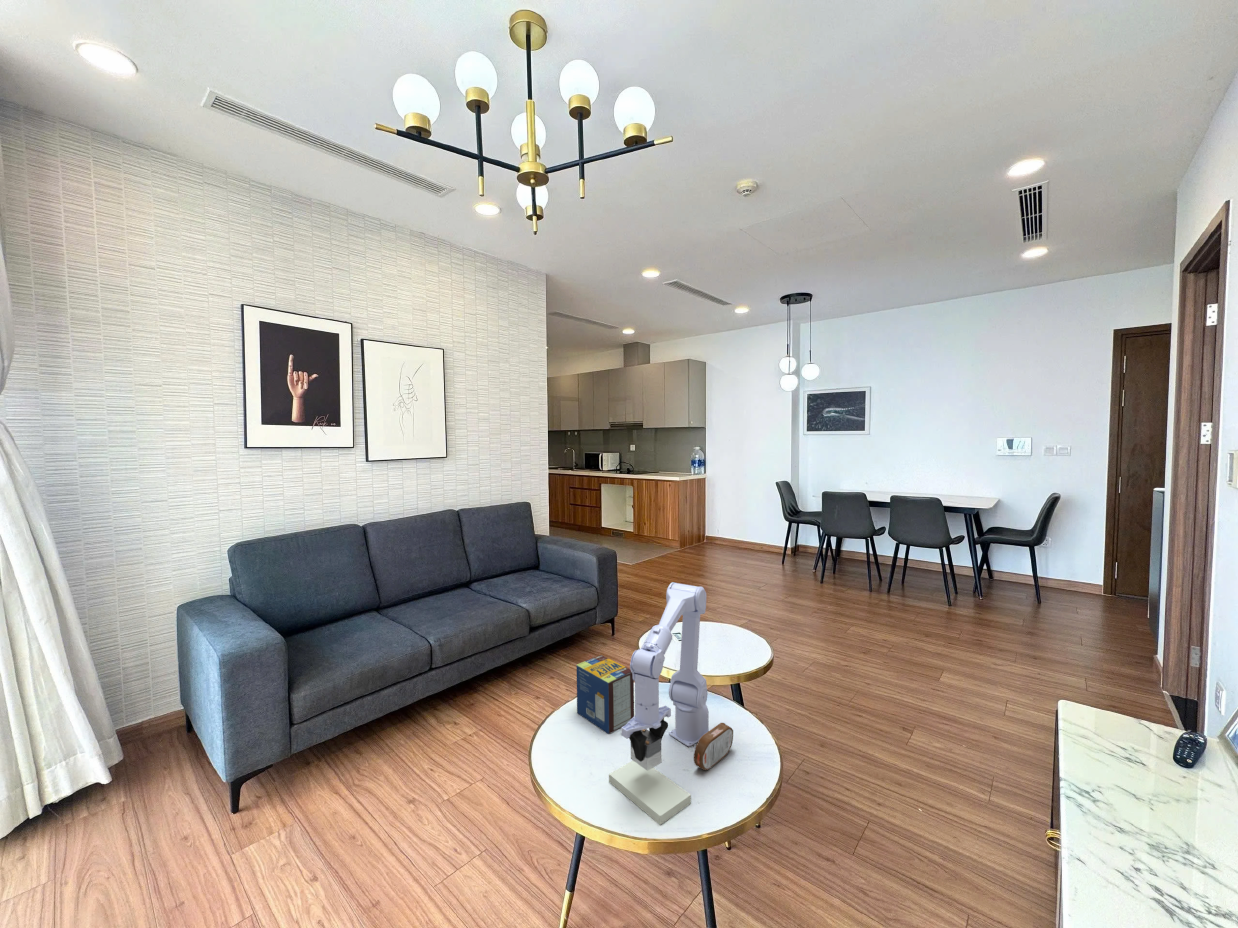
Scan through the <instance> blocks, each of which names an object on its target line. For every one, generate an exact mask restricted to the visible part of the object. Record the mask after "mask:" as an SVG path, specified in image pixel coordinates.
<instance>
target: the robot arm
mask: <svg viewBox="0 0 1238 928" xmlns="http://www.w3.org/2000/svg"><path fill="white" fill-rule="evenodd" d="M665 595H666V596H665V599H666V605H665V608H664V611H663V613H662V615H661V618H660V620H659V623H658V624H656V625H653V626H652V628H650V631H649V633H648V635H647V637H646V638H645V640H644V642H643V644H642V645H641V647H640V648H638V649H635V650H634V651H633V653H632V655H631V657H630V664H629V669H630V670H631V672H632V674H633V680H634V717H633V718H632V719H631V720H630V721H629V722H628V723H627V724H626V725H625V726H623V727H621V729H620V731H621V733H620V734H621V736H622V737H623V738H625V739H627V740H629V742H630V745H631V744H632V747H633V750H634V754H635V758H636V759H638V760H639V761H640V762H641V761H643V758H644V746H645V742H646V739H647V737H646V736H645V735H643V734H642V732H641V730H643V729H647V730H649V731H650V732H652V733H653V734H655V735H657V736H658V737H660V738H661V742H662V740H663V737H664V736H665V732H666V730H668V728H669V723H668V721H666V720H665V718H670V717H671V716H672V709H671V707H669V706H667V705H664V706H661V707H660V705H659V704H660V701H659V700H660V699H659V698H660V697H659V696H660V693H659V692H660V691H659V690H660V689H659V688H660V684H659V681H660V679H659V678H660V676H661V673H662V671H663V668H664V662H665V660H666V657H665V655H666V652H667V650H668V649H669V647H670V644H671V643H672V641H673V634H672V631H673V629H674V628H675V626H676V624H677V623H678V621H679V619H680V618H681V617H682V626H681V639H680V640H681V642H680V645H681V646H680V660H679V661H680V662H679V663H680V664H679V669H678V670H676V671H675V672H673V674H672V675H671V676H670V677H671V678H670V683H669V686H668V687H669V688H668V697H669V699H670V701H671V702H673V703H672V705H673V706H674V707H675V711H674V712H675V714H674V715H675V718H674V719H675V722H674V723H675V728H674V729H673V730H671V731H669V732H668V735H669V736H671V737H672V738H674V739H676V740H677V741H679V742H680V743H682V744H683V745H685V746H687V747H689V748H690V747H692V746H693V745H695V744H697V743H698V741H699V740H700V738H701V737H702V736H703V735H704V734H706V733H707V732H708V731H710V730H709V729H710V728H709V721H710V720H709V718H710V716H709V708H708V705H707V701H708V689H707V687H708V686H707V684H708V683H707V679H706V678H705V676H703V674H701V672H700V671H698V663H699V662H698V660H699V646H700V645H699V644H700V626H701V625H700V624H701V615H704V614H706V610H707V592H706V590H705V588H704V587H703V586H695V585H691V584H685V583H679V582H673V581H672V582H670V584H669V585H668V587H667V589H666V593H665Z"/></svg>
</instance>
